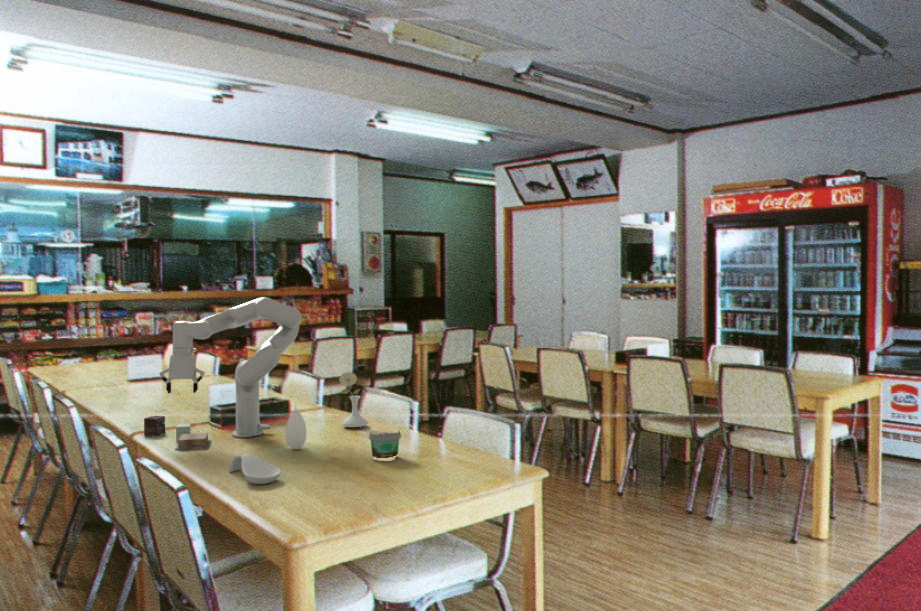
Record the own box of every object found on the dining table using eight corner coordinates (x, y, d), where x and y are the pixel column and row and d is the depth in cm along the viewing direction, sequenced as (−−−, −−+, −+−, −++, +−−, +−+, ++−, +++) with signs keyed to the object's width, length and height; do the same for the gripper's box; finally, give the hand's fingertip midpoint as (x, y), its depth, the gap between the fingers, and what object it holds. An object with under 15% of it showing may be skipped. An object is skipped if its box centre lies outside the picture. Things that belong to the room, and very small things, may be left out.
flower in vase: (370, 424, 299) (370, 370, 298) (364, 430, 287) (364, 374, 286) (342, 423, 300) (342, 369, 299) (335, 429, 289) (335, 373, 288)
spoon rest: (288, 482, 214) (287, 460, 214) (256, 490, 206) (255, 468, 205) (249, 468, 230) (249, 448, 230) (218, 475, 221) (217, 454, 221)
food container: (374, 464, 235) (374, 436, 235) (368, 460, 240) (368, 433, 240) (406, 460, 241) (406, 433, 240) (399, 456, 246) (400, 429, 246)
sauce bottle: (281, 450, 252) (281, 404, 252) (293, 445, 260) (293, 401, 259) (298, 452, 250) (298, 406, 249) (310, 447, 257) (310, 402, 256)
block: (190, 438, 272) (190, 423, 271) (189, 440, 267) (189, 426, 267) (177, 438, 270) (177, 424, 270) (176, 441, 265) (176, 427, 265)
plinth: (211, 440, 267) (210, 432, 267) (208, 448, 255) (208, 439, 255) (179, 442, 263) (179, 433, 263) (175, 450, 252) (175, 441, 252)
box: (156, 436, 274) (156, 419, 274) (143, 435, 275) (143, 418, 275) (165, 433, 280) (165, 416, 280) (153, 432, 281) (153, 415, 281)
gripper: (206, 350, 273) (205, 390, 274) (161, 350, 269) (161, 391, 269) (204, 352, 266) (203, 393, 266) (157, 352, 261) (157, 394, 262)
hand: (182, 392), depth 268 cm, fingers open, 9 cm apart
